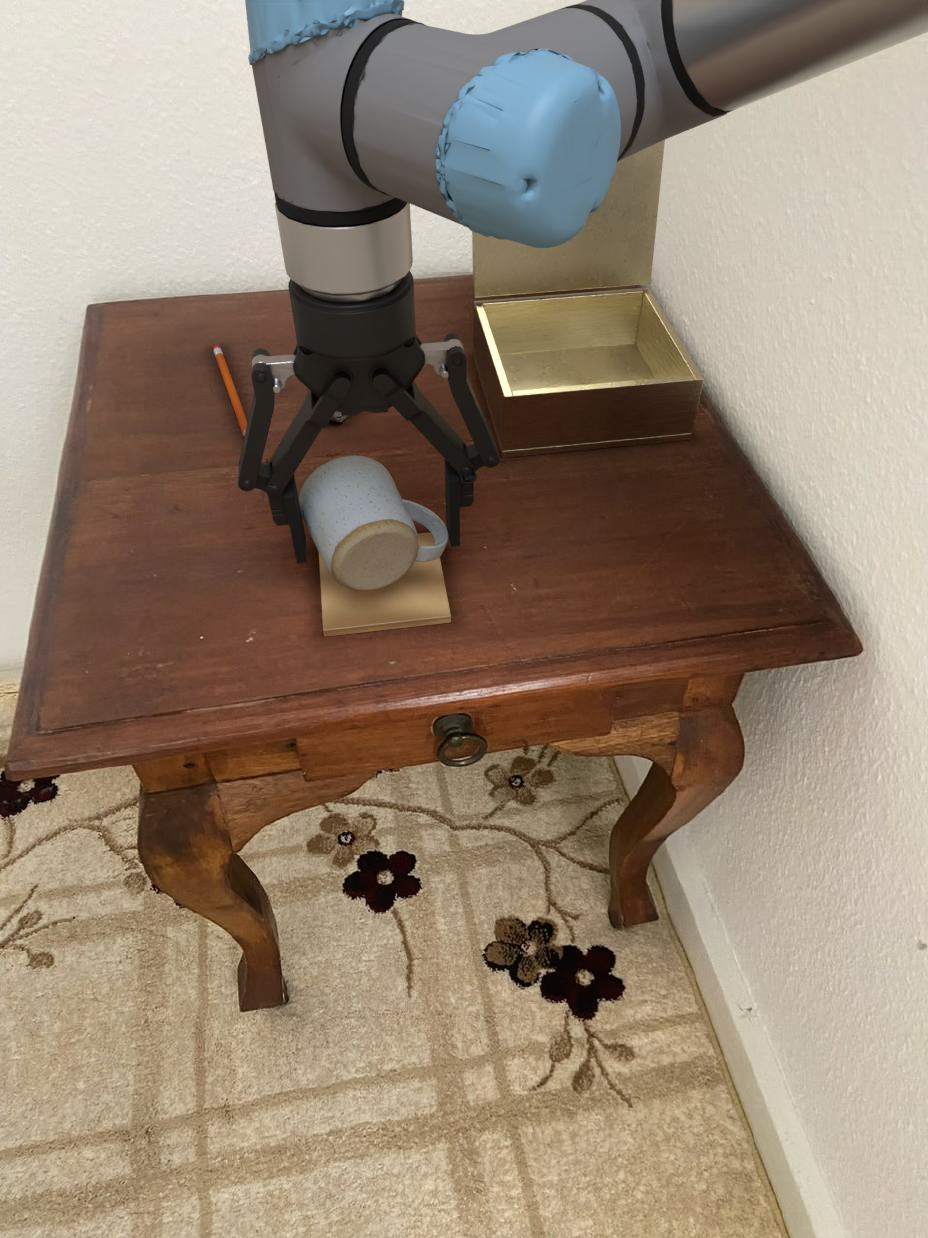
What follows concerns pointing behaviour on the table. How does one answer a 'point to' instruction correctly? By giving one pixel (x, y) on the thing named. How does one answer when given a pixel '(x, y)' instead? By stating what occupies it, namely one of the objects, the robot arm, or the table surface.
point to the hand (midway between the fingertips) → (377, 543)
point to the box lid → (584, 241)
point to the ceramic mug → (365, 523)
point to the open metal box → (583, 372)
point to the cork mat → (387, 600)
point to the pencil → (230, 388)
